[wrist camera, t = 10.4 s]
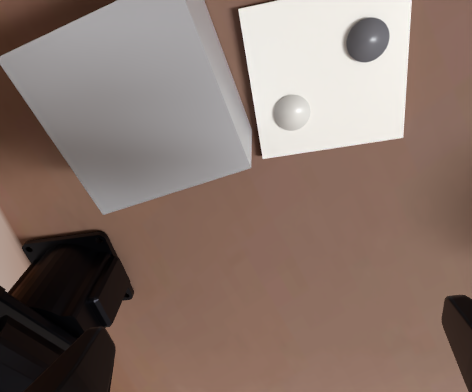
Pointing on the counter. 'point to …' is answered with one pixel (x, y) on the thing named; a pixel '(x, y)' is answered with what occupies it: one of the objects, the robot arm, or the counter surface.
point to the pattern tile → (326, 72)
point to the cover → (136, 99)
